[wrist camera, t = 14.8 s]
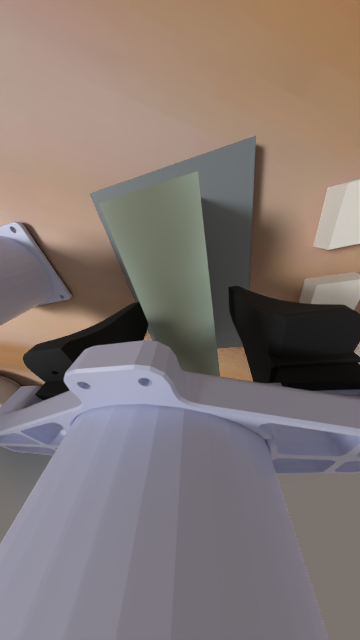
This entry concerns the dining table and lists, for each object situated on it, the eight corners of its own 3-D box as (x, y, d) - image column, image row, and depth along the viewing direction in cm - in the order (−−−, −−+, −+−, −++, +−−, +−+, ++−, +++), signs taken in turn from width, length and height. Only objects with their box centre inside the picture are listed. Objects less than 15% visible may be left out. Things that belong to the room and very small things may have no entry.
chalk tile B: (311, 246, 13) (328, 249, 11) (324, 188, 11) (348, 182, 9) (365, 234, 12) (392, 236, 11) (391, 169, 10) (429, 160, 9)
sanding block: (182, 340, 19) (176, 392, 13) (146, 211, 12) (98, 203, 6) (213, 337, 18) (221, 391, 13) (196, 196, 11) (197, 170, 5)
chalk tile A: (294, 311, 17) (304, 321, 15) (303, 277, 15) (316, 285, 13) (334, 307, 16) (350, 316, 14) (350, 270, 14) (371, 277, 12)
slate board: (159, 348, 22) (158, 353, 21) (96, 195, 12) (89, 193, 11) (244, 340, 20) (246, 345, 19) (250, 142, 10) (255, 135, 9)
